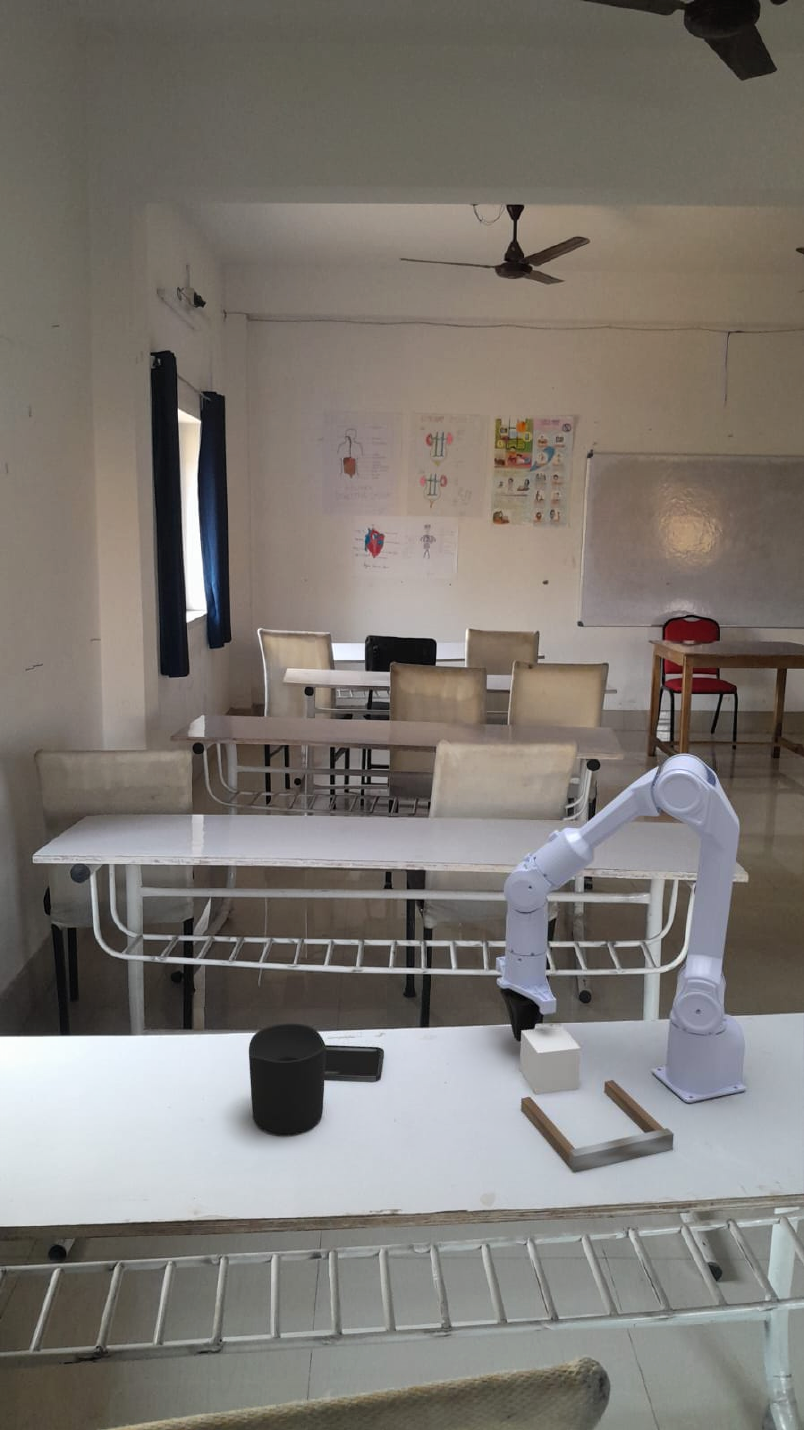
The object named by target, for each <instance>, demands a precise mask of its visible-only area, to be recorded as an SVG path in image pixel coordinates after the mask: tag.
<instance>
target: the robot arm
mask: <svg viewBox="0 0 804 1430" xmlns="http://www.w3.org/2000/svg"><path fill="white" fill-rule="evenodd" d="M658 770H659V766H658V765H657V766H656V767H655V768H652V769H651V770H649V771H648V772H646V773H645V774H643V775H642V776H641V777H639V778H638V779H637V780H635V781H634V782H633V783H631V784H630V785H629V786H628V787H627V788H625V789H624V790H623V791H622V792H621V793H619V794H618V795H617V796H616V797H615V798H614V799H613V800H611V801H610V802H609V803H608V804H607V805H605V807H604V808H602V809H601V810H600V811H599V812H597V814H595V815H594V816H593V817H592V818H591V819H589V820H588V822H586V823H585V824H584V825H583V826H582V827H580V828H574V827H565V828H563V829H562V830H561V831H559V830H558V829H555V830H554V831H553V832H551V833H549V835H548V839H549V840H548V842H546V843H545V844H544V845H543V846H541V847H540V848H539V849H538V850H536V851H535V852H534V853H533V854H532V853H531V852H529V853H527V854H526V855H525V856H524V857H523V861H521V862H520V863H518V864H517V865H516V866H515V867H514V868H513V870H512V872H511V873H509V876H508V877H507V878H506V880H505V882H504V885H503V895H504V896H503V897H504V898H505V901H506V903H507V914H506V915H505V916H506V923H505V924H506V925H505V948H504V949H505V951H504V956H498V957H496V958H495V971H496V972H498V973H500V975H501V976H500V977H498V978H497V979H496V984H497V985H498V986H499V988H500V991H499V993H500V994H501V996H502V998H503V1000H504V1003H505V1005H506V1008H507V1012H508V1015H509V1019H510V1024H511V1025H510V1026H511V1031H512V1035H513V1038H514V1039H515V1040H516V1041H517V1042H520V1043H521V1031H522V1030H532V1029H536V1028H535V1027H536V1025H537V1021H538V1019H539V1018H540V1017H539V1016H540V1014H541V1015H543V1016H544V1015H550V1014H555V1013H556V1012H557V998H556V997H554V995H553V992H552V990H551V987H550V984H549V981H548V978H547V976H546V974H547V954H548V928H549V916H548V907H549V906H548V903H549V899H548V895H550V894H551V892H553V891H555V890H559V889H561V888H562V886H564V885H565V884H567V883H568V882H569V881H571V879H573V878H574V877H575V876H577V875H578V874H579V873H581V872H583V870H585V868H587V867H588V866H589V865H591V864H592V863H593V862H594V859H595V848H596V847H598V846H599V845H601V844H602V843H603V842H605V841H606V840H608V839H609V838H610V837H611V836H613V835H614V834H616V833H617V832H619V831H620V830H622V829H623V828H624V827H626V826H627V825H628V824H629V823H631V822H632V821H634V820H635V819H636V818H638V817H640V816H641V817H642V816H643V817H644V816H645V817H660V815H661V811H663V812H665V813H666V814H667V815H669V816H671V817H673V818H675V819H676V820H679V821H680V822H682V823H684V824H686V825H687V826H688V827H689V828H690V829H691V830H692V831H693V832H694V833H695V834H696V835H697V836H698V837H699V839H700V840H701V841H700V848H699V849H700V850H699V856H698V857H699V858H698V867H697V874H696V879H695V880H696V882H695V890H694V898H693V904H692V906H693V907H692V913H691V923H690V931H689V937H688V947H687V953H686V960H685V962H684V964H683V966H682V967H681V968H680V969H679V971H678V973H677V979H676V983H677V986H676V992H675V996H674V998H673V1001H672V1002H673V1003H672V1009H671V1010H670V1012H669V1021H668V1023H669V1025H668V1039H667V1052H666V1053H667V1055H666V1064H665V1065H666V1066H665V1065H664V1066H660V1067H656V1068H652V1071H651V1073H652V1074H653V1076H655V1077H656V1078H657V1079H659V1080H660V1081H661V1082H662V1083H663V1084H664V1085H665V1086H667V1087H668V1088H669V1089H670V1090H671V1091H673V1093H675V1094H676V1095H677V1096H678V1097H679V1098H680V1099H682V1100H683V1101H684V1102H685V1103H687V1104H689V1103H694V1102H699V1101H703V1100H708V1099H711V1098H713V1099H714V1098H717V1097H720V1096H721V1097H722V1096H726V1095H727V1096H728V1095H731V1094H735V1093H740V1092H744V1091H746V1088H747V1087H746V1086H745V1084H743V1073H744V1072H743V1071H744V1060H745V1049H746V1048H745V1047H746V1046H745V1045H746V1042H745V1041H746V1040H745V1034H744V1032H743V1029H742V1026H741V1025H740V1023H739V1022H738V1021H737V1019H736V1018H734V1017H733V1016H732V1015H730V1014H726V1013H725V1007H724V1006H725V1005H724V1004H725V1003H724V1001H725V992H726V987H727V983H726V977H725V976H724V973H723V968H722V967H723V960H724V959H723V958H724V953H725V952H724V951H725V946H726V945H725V944H726V937H727V929H728V923H729V922H728V921H729V915H730V907H731V899H732V891H733V883H734V877H735V876H734V875H735V867H736V862H737V861H736V860H737V855H738V854H737V853H738V846H739V839H740V838H739V837H740V831H741V829H740V819H739V817H738V815H737V813H736V812H735V809H734V808H733V806H732V804H731V802H730V801H729V799H728V797H727V794H726V793H725V791H724V789H723V787H722V785H721V783H720V781H719V778H718V775H717V774H716V772H715V771H714V770H713V769H711V768H710V767H709V766H708V765H707V764H706V763H705V762H704V761H703V760H702V759H700V758H699V757H698V756H695V755H692V754H690V753H679V754H675V755H673V756H671V757H669V758H667V760H665V762H663V764H662V766H661V768H660V771H659V774H657V773H658Z"/></svg>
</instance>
